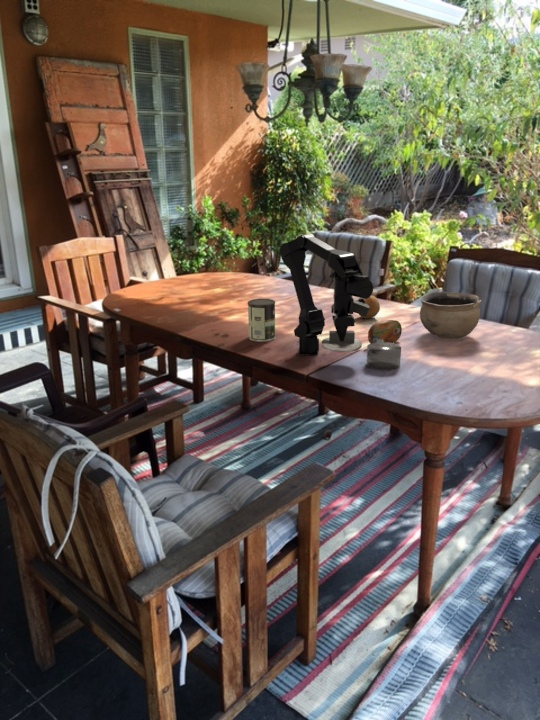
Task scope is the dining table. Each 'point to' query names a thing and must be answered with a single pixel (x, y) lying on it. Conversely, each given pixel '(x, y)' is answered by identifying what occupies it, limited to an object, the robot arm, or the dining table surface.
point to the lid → (338, 346)
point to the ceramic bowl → (450, 314)
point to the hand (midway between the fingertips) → (341, 340)
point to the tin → (385, 331)
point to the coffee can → (261, 320)
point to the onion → (372, 307)
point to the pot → (383, 355)
